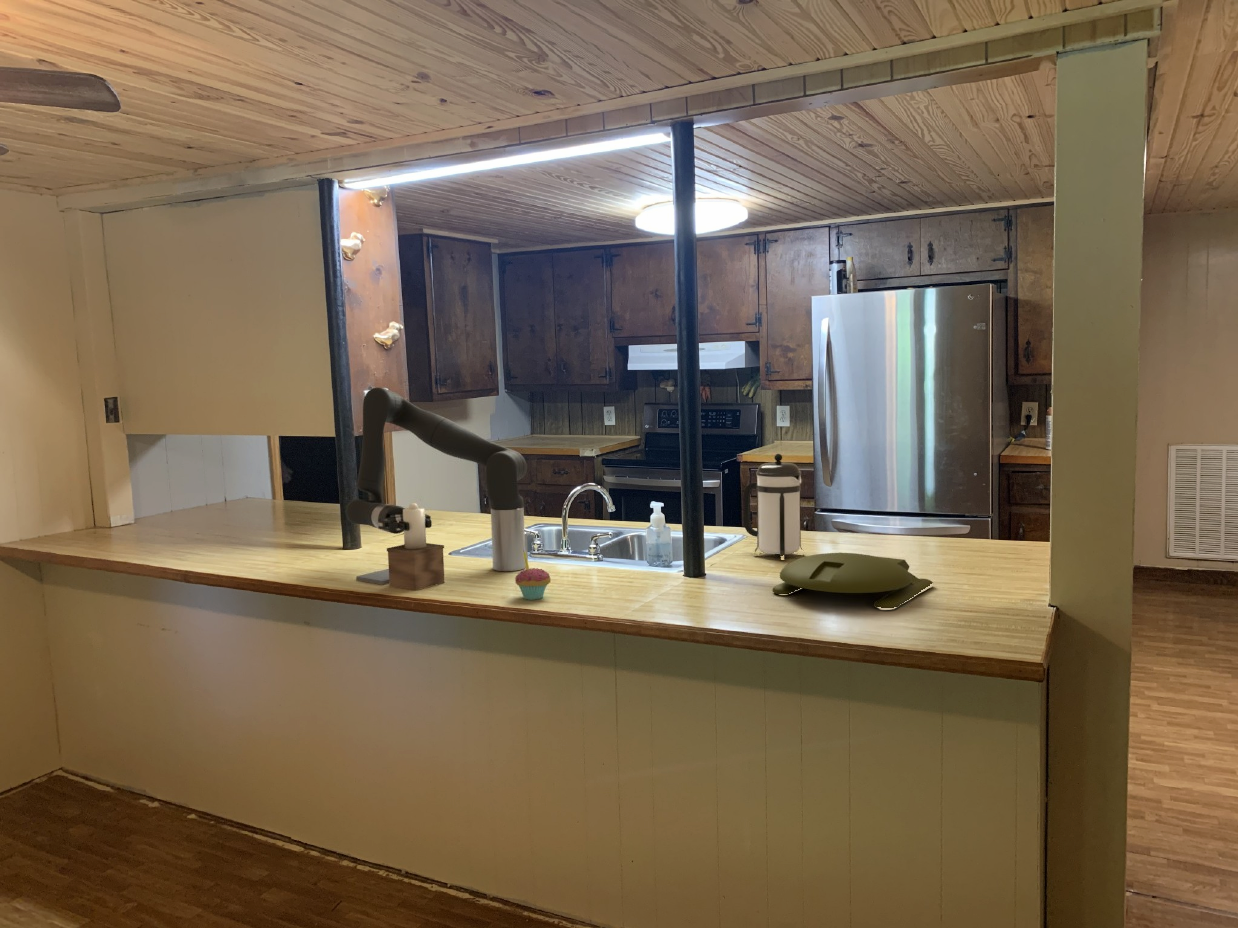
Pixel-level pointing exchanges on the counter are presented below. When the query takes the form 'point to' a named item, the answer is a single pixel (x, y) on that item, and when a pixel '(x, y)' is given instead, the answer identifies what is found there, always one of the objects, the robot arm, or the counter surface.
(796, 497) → the coffee press
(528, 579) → the cupcake
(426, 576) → the wooden lidded box
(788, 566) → the spaceship
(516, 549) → the robot arm
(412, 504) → the white pillar candle
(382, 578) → the mat
